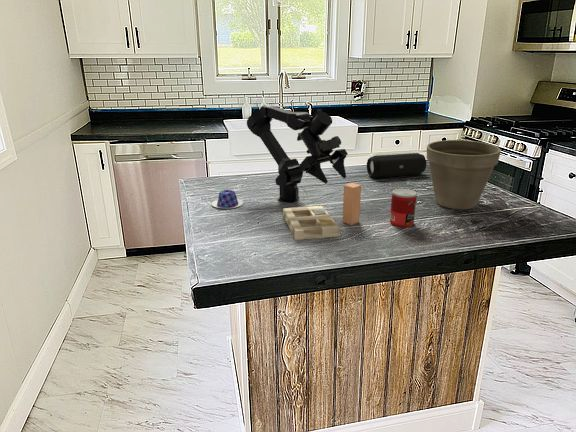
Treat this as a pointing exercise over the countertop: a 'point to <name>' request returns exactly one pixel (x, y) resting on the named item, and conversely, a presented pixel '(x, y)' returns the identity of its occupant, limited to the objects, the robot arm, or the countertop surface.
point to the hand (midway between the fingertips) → (336, 180)
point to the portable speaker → (396, 165)
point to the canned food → (403, 207)
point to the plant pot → (460, 171)
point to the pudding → (227, 200)
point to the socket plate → (310, 222)
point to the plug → (351, 203)
